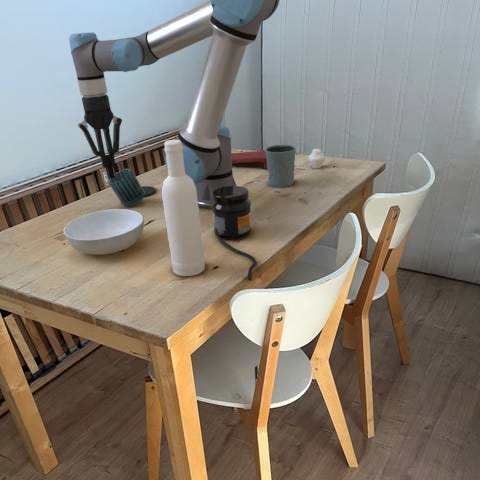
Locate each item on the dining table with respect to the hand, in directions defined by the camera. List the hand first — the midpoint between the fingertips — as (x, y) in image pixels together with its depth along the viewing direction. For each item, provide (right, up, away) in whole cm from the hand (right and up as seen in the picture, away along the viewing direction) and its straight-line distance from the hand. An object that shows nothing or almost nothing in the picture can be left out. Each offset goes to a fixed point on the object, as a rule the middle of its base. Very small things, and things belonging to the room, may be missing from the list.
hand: (111, 176), depth 152 cm
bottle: (+28, -33, -34) cm, 55 cm away
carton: (+43, +17, +40) cm, 61 cm away
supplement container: (+39, -21, -17) cm, 47 cm away
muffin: (+69, +13, +31) cm, 77 cm away
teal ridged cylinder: (+1, -5, +4) cm, 6 cm away
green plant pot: (+55, +3, +17) cm, 57 cm away
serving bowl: (+5, -25, -20) cm, 32 cm away
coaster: (+6, 0, +17) cm, 18 cm away
